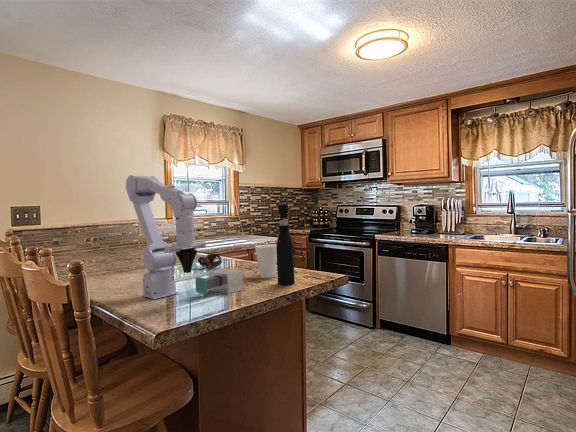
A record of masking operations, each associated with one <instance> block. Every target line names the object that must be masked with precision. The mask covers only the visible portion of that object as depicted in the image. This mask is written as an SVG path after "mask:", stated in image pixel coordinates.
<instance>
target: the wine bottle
mask: <svg viewBox="0 0 576 432" xmlns="http://www.w3.org/2000/svg"><path fill="white" fill-rule="evenodd" d="M277 211H278V212H277V214H279V215H280V219H279V225H278V236H277V240H276V244H275V245H276V250H277V262H276V273H277V284H278V286H283V287H284V286H285V287H286V286H292V285H295V261H294V259H295V258H294V243H293V239H292V236H291V234H290V225H289V221H288V220H287V219H288V214H289V204H278V205H277Z"/></svg>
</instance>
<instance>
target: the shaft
mask: <svg viewBox="0 0 576 432" xmlns="http://www.w3.org/2000/svg"><path fill="white" fill-rule="evenodd" d="M218 286H222V276H215V277H211V278H209V277H208V278H205V277H200V276H196V277H195V293H199V294H203V295H206V294H208V290H210V289H211V288H215V287H218Z"/></svg>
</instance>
